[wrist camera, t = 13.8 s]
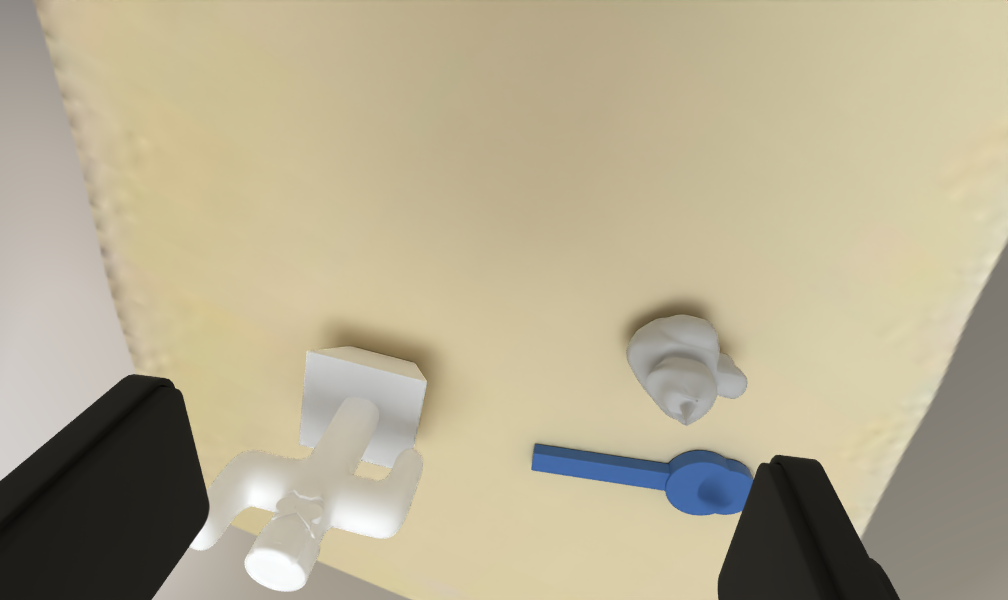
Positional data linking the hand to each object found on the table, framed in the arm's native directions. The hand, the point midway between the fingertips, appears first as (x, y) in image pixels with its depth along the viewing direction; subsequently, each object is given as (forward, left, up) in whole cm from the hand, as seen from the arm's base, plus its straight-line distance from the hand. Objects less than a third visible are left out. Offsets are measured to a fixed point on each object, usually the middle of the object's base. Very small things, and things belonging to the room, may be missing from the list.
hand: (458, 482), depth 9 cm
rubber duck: (+10, +10, -24) cm, 28 cm away
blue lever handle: (+20, +9, -24) cm, 33 cm away
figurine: (+16, -9, -24) cm, 30 cm away
